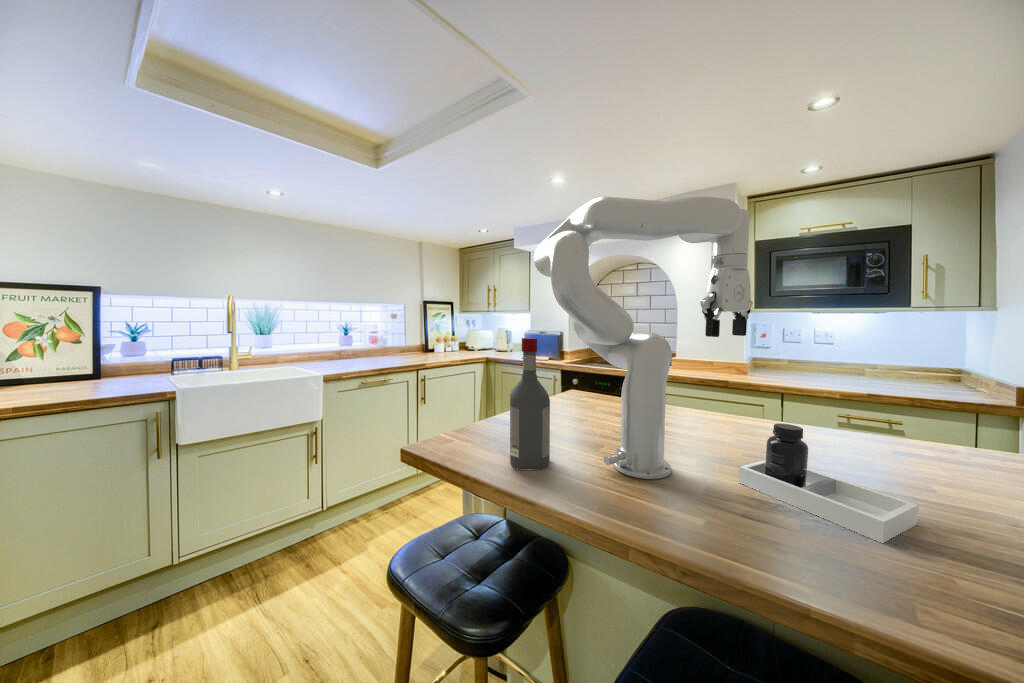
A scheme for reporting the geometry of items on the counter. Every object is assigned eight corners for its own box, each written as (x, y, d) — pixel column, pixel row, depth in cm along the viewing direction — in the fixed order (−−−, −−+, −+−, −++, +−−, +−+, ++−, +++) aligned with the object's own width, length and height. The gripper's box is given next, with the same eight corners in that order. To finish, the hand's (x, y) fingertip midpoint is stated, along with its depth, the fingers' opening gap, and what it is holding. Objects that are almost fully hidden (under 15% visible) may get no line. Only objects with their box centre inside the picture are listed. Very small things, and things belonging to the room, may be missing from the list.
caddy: (882, 543, 58) (884, 522, 58) (738, 482, 79) (739, 466, 78) (916, 524, 63) (918, 504, 63) (773, 472, 84) (773, 457, 84)
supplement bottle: (813, 493, 72) (818, 433, 71) (774, 490, 73) (778, 430, 72) (793, 478, 79) (797, 422, 78) (758, 475, 80) (761, 420, 79)
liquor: (546, 455, 94) (546, 337, 92) (550, 470, 85) (551, 339, 83) (510, 455, 94) (509, 337, 92) (510, 470, 85) (510, 339, 83)
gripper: (719, 260, 81) (716, 338, 83) (767, 264, 89) (764, 335, 90) (689, 264, 88) (687, 336, 89) (737, 267, 95) (734, 334, 97)
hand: (725, 336), depth 90 cm, fingers open, 9 cm apart
